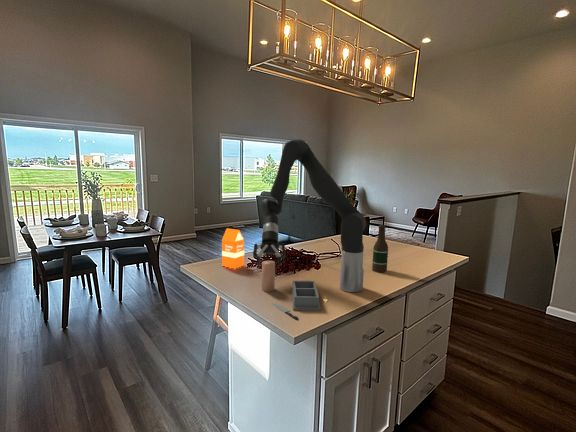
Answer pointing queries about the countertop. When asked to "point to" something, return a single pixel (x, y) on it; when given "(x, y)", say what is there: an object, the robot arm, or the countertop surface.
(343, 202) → the robot arm
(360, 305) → the countertop surface
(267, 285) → the tan cylinder
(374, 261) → the beer bottle
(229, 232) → the orange juice
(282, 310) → the chef's knife
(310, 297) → the box
